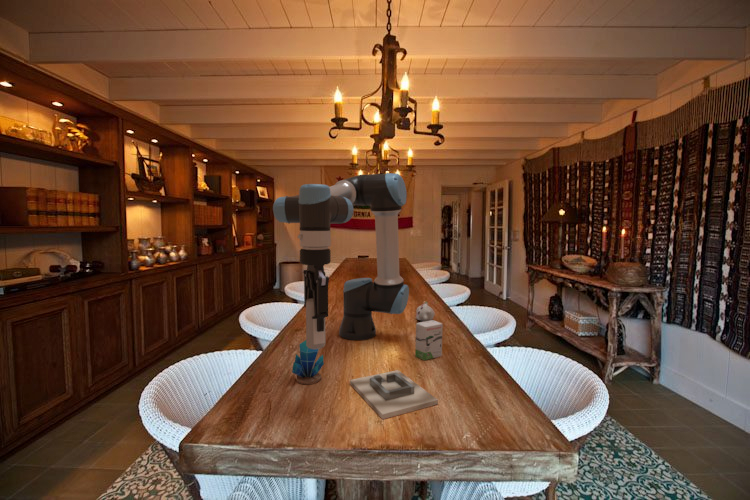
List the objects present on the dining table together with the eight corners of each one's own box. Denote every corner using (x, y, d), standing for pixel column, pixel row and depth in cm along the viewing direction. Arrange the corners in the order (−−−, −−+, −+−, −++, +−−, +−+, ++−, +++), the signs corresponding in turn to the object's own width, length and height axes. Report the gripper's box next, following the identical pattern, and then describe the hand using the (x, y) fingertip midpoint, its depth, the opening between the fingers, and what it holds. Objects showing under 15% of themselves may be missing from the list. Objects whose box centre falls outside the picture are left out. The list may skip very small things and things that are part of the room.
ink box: (424, 361, 117) (424, 326, 116) (414, 356, 121) (415, 323, 120) (442, 355, 122) (443, 322, 121) (432, 351, 126) (433, 319, 125)
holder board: (349, 384, 100) (349, 373, 100) (398, 373, 107) (398, 363, 107) (382, 419, 82) (382, 406, 82) (437, 404, 89) (438, 392, 89)
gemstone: (296, 373, 106) (296, 335, 105) (324, 374, 106) (324, 335, 105) (289, 384, 99) (289, 343, 98) (320, 385, 99) (320, 344, 98)
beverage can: (307, 343, 90) (306, 297, 89) (326, 342, 91) (325, 297, 90) (305, 350, 86) (304, 302, 85) (324, 349, 86) (324, 302, 85)
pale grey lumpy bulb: (420, 297, 173) (426, 301, 158) (434, 306, 173) (441, 310, 158) (410, 314, 172) (415, 319, 157) (424, 323, 172) (430, 328, 157)
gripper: (291, 245, 92) (292, 331, 94) (310, 251, 76) (311, 354, 78) (318, 245, 96) (319, 327, 98) (342, 250, 80) (342, 349, 82)
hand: (315, 339), depth 88 cm, fingers closed on beverage can, 5 cm apart
